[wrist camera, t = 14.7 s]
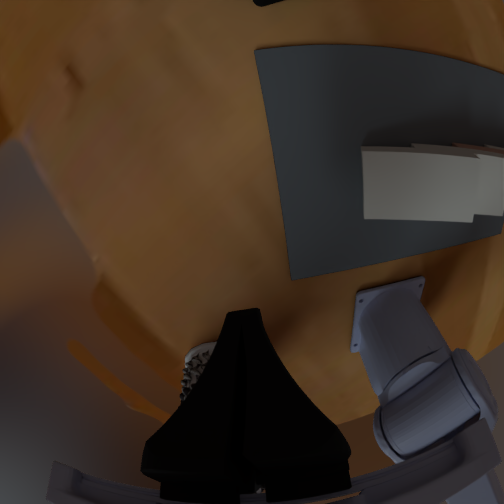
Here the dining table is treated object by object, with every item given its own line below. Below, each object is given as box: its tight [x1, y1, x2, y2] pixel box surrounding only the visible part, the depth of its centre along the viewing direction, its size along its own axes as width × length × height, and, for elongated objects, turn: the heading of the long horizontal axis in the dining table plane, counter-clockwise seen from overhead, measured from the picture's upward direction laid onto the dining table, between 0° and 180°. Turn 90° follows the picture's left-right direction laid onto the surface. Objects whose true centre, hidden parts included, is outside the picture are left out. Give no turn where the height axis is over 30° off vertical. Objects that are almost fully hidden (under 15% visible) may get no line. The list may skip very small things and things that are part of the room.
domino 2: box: [411, 143, 504, 216], centre depth 16 cm, size 2×5×9 cm
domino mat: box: [254, 45, 504, 280], centre depth 18 cm, size 18×26×1 cm
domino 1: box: [361, 146, 480, 223], centre depth 16 cm, size 2×5×9 cm
